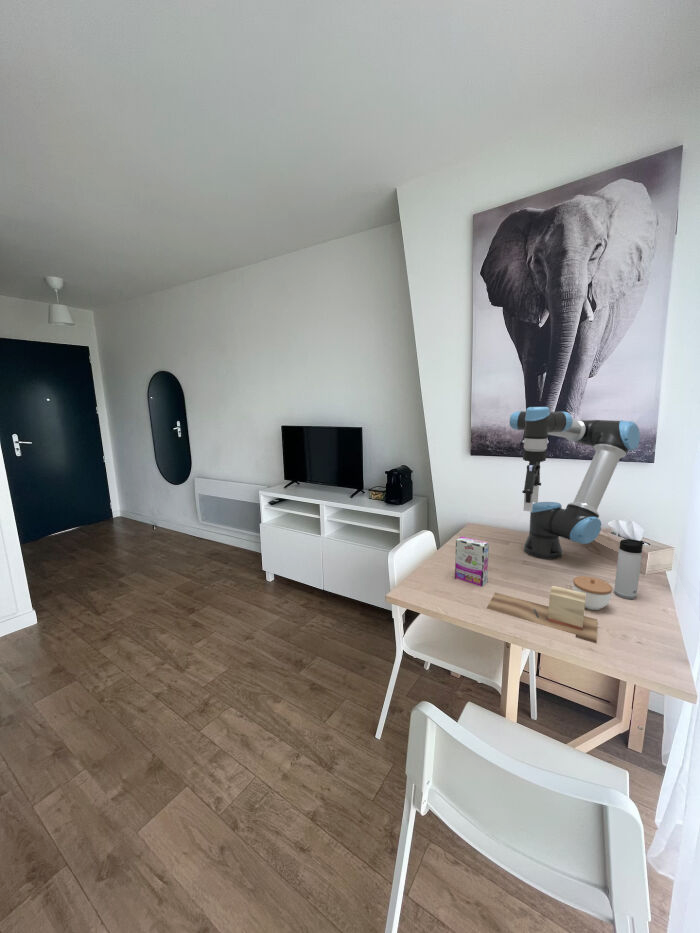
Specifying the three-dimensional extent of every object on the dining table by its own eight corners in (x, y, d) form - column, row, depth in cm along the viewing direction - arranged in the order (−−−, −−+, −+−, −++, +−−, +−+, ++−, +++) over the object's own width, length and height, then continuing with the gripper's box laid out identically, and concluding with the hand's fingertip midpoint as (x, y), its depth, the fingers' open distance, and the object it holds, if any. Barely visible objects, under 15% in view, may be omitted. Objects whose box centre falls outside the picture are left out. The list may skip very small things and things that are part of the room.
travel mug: (640, 601, 122) (647, 545, 119) (617, 597, 125) (623, 542, 121) (633, 592, 128) (640, 538, 125) (611, 589, 130) (617, 536, 127)
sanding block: (550, 611, 116) (552, 585, 115) (583, 620, 111) (585, 593, 109) (547, 620, 111) (549, 593, 110) (582, 630, 106) (585, 602, 105)
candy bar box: (487, 583, 136) (490, 542, 133) (482, 588, 133) (484, 546, 130) (460, 574, 144) (461, 535, 141) (454, 579, 140) (455, 539, 137)
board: (495, 594, 128) (495, 592, 128) (596, 621, 112) (597, 619, 111) (486, 610, 119) (486, 608, 119) (596, 643, 102) (596, 640, 102)
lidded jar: (574, 593, 128) (576, 568, 127) (611, 603, 121) (614, 577, 120) (568, 606, 120) (571, 580, 118) (608, 618, 113) (611, 590, 112)
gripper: (529, 445, 144) (525, 497, 147) (516, 453, 123) (513, 513, 127) (550, 446, 139) (546, 500, 143) (541, 454, 119) (537, 516, 123)
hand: (530, 506), depth 135 cm, fingers open, 13 cm apart
